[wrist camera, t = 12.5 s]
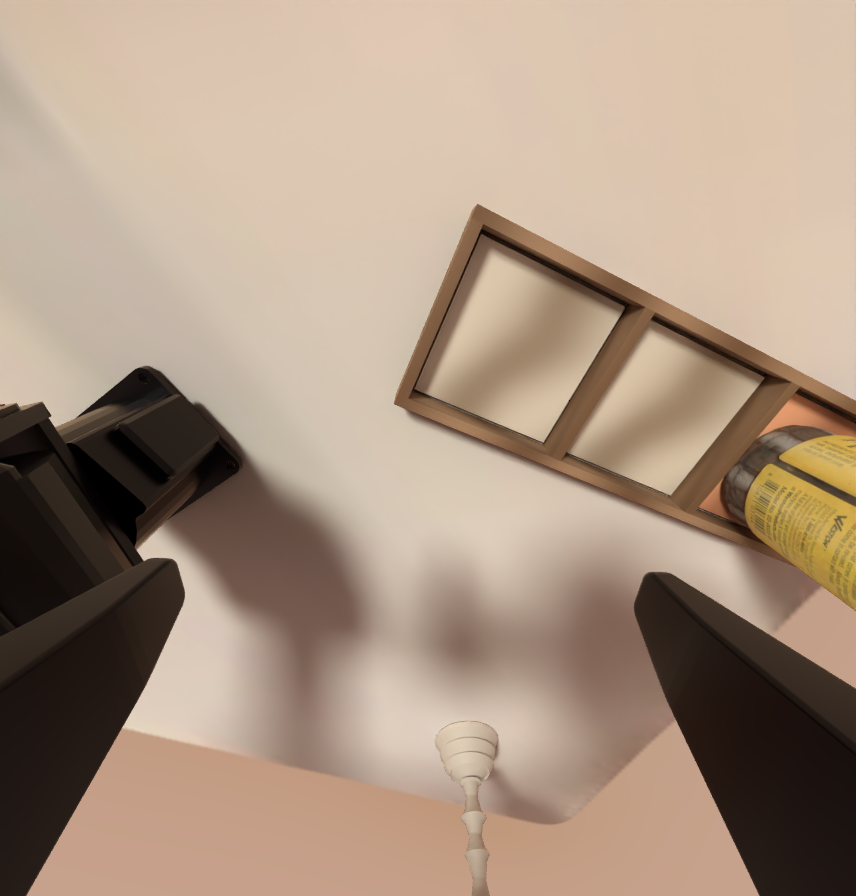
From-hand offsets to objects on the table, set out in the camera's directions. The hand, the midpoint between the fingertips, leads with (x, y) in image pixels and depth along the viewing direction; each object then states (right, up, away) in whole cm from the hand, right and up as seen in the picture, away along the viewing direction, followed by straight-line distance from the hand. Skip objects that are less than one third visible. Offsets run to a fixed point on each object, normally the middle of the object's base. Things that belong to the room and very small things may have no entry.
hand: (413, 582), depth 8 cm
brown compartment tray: (+12, +4, +12) cm, 18 cm away
